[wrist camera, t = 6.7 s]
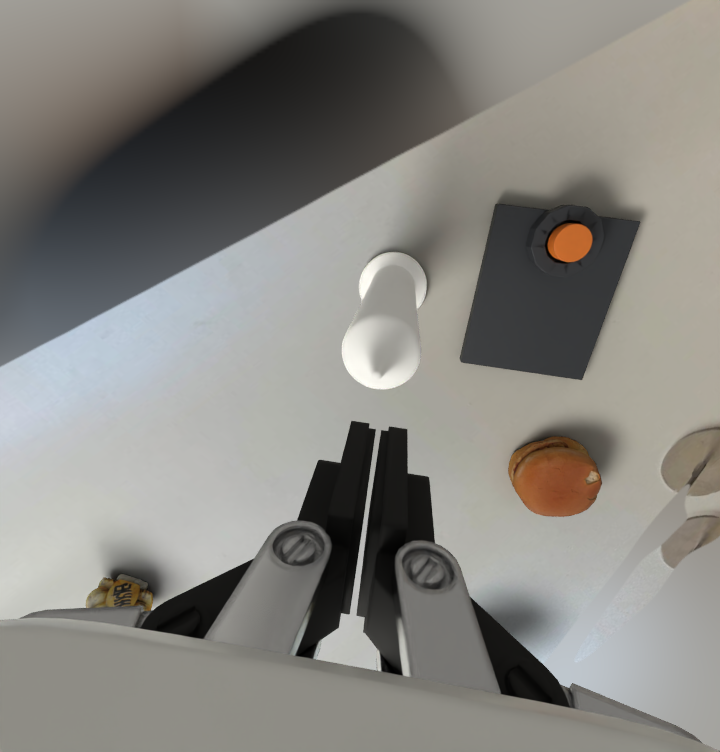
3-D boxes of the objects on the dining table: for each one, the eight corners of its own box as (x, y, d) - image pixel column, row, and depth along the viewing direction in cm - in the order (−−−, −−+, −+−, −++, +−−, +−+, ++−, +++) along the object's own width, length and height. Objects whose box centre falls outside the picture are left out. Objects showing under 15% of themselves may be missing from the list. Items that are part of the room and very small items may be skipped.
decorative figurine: (162, 580, 64) (96, 682, 50) (160, 614, 67) (97, 718, 53) (104, 565, 64) (22, 662, 50) (105, 598, 67) (28, 699, 53)
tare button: (553, 221, 36) (560, 221, 34) (589, 225, 36) (598, 226, 34) (542, 257, 37) (549, 259, 35) (577, 262, 37) (585, 264, 35)
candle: (424, 320, 43) (444, 443, 20) (359, 318, 44) (308, 435, 21) (428, 252, 40) (458, 305, 18) (359, 251, 41) (301, 301, 18)
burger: (491, 468, 49) (500, 492, 45) (550, 418, 46) (566, 440, 42) (547, 511, 51) (560, 539, 47) (608, 466, 48) (628, 492, 43)
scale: (496, 197, 38) (503, 196, 35) (636, 215, 37) (654, 215, 34) (459, 358, 44) (463, 368, 42) (577, 376, 44) (589, 387, 41)
